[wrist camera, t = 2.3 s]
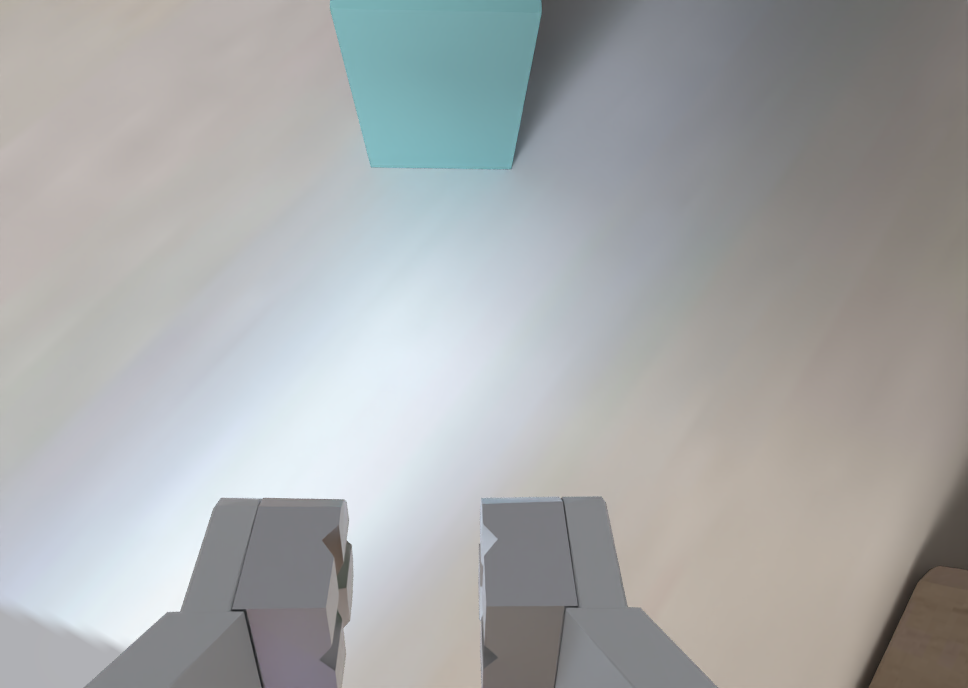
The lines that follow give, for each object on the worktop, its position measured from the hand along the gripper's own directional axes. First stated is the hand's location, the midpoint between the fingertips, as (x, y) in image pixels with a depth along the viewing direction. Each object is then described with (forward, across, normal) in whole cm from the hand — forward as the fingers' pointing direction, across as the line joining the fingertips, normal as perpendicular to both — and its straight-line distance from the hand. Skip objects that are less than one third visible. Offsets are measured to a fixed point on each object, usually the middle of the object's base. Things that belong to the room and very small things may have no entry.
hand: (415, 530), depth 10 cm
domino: (+21, 0, +4) cm, 21 cm away
